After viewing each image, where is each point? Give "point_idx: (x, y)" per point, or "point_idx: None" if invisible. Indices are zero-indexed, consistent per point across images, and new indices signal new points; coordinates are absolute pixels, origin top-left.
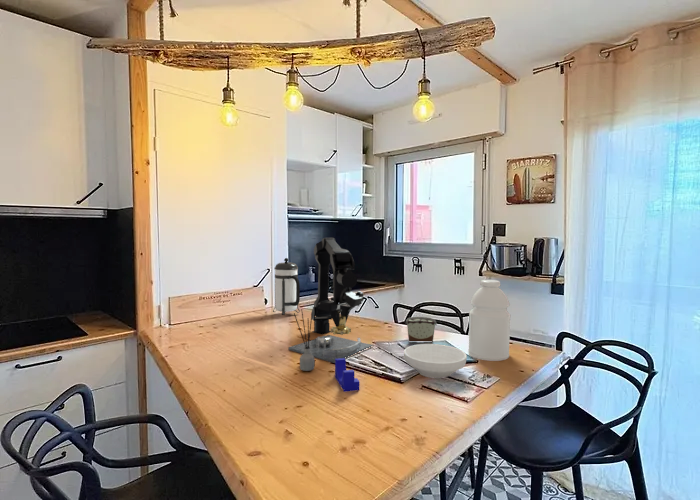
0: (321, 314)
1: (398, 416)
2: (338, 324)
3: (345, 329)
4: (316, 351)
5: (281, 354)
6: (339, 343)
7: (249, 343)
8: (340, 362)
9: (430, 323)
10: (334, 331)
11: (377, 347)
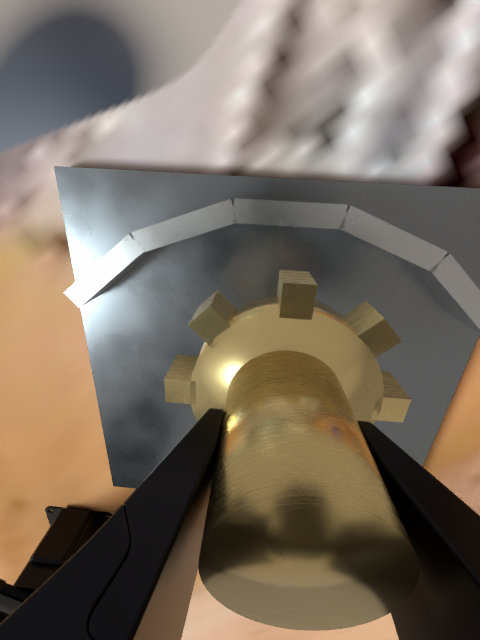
0: None
1: None
2: (380, 439)
3: (305, 328)
4: (403, 388)
5: (471, 491)
6: None
7: (390, 619)
8: None
9: None
10: (402, 397)
11: (35, 141)
